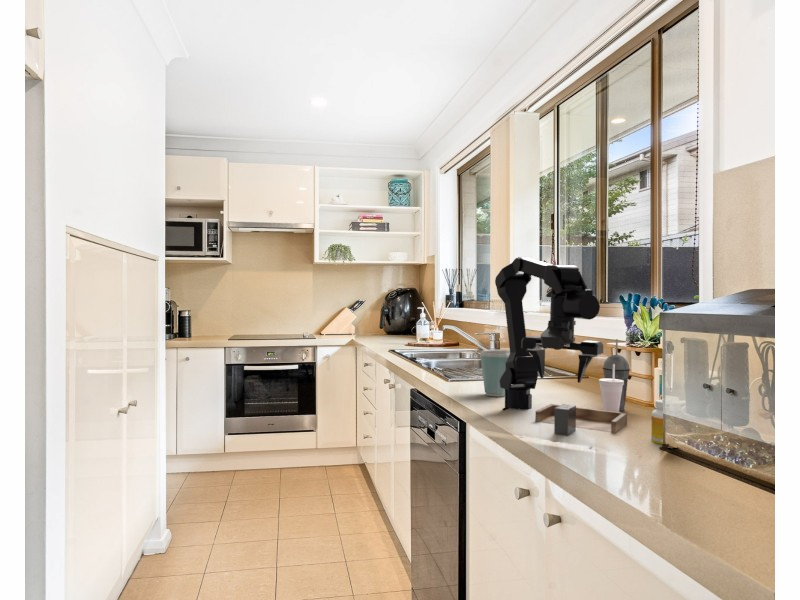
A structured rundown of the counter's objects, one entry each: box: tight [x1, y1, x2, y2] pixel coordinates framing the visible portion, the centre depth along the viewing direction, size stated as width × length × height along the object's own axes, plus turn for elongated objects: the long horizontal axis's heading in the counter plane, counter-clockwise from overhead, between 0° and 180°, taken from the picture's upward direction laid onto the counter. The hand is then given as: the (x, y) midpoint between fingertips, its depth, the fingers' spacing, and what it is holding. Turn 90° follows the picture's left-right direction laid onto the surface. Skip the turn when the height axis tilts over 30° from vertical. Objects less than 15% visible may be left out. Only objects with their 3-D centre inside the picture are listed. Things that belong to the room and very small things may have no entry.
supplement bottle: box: [650, 399, 663, 445], centre depth 119 cm, size 5×5×10 cm
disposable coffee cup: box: [479, 348, 510, 398], centre depth 178 cm, size 11×11×15 cm
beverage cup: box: [602, 339, 631, 412], centre depth 158 cm, size 7×7×20 cm
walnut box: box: [534, 403, 628, 434], centre depth 136 cm, size 19×12×4 cm, turn 56°
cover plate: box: [553, 403, 577, 437], centre depth 126 cm, size 12×9×7 cm
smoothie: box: [598, 364, 624, 412], centre depth 149 cm, size 6×6×14 cm
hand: (560, 380), depth 135 cm, fingers open, 9 cm apart
